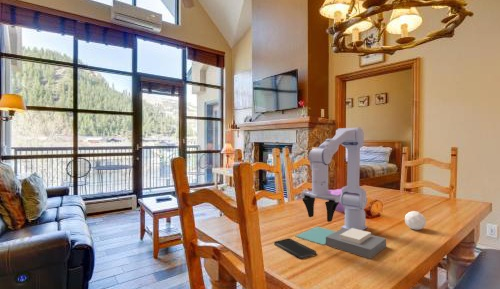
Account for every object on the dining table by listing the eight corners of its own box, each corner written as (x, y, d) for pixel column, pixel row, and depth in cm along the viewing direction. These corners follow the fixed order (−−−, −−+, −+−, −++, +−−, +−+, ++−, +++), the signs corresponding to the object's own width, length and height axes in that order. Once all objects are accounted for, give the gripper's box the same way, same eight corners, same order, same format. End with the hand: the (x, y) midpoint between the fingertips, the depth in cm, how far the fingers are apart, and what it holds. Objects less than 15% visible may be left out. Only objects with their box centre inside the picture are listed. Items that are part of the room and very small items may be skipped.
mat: (316, 227, 115) (316, 226, 115) (343, 234, 106) (343, 233, 106) (295, 236, 104) (295, 235, 104) (323, 245, 95) (323, 244, 95)
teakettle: (325, 205, 154) (325, 185, 153) (354, 205, 153) (354, 185, 153) (334, 213, 137) (334, 190, 136) (366, 213, 136) (366, 190, 136)
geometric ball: (409, 235, 112) (397, 218, 116) (422, 226, 115) (409, 210, 118) (421, 231, 106) (407, 214, 109) (434, 222, 108) (420, 205, 111)
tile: (352, 231, 100) (352, 228, 100) (371, 236, 95) (371, 232, 95) (339, 238, 93) (339, 234, 93) (359, 244, 88) (359, 239, 88)
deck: (343, 235, 105) (343, 227, 105) (386, 246, 93) (386, 238, 93) (325, 244, 95) (325, 236, 95) (370, 259, 84) (370, 249, 84)
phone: (300, 257, 84) (272, 242, 96) (300, 260, 84) (273, 245, 96) (318, 251, 88) (289, 237, 100) (318, 255, 88) (289, 240, 100)
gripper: (296, 180, 96) (297, 216, 96) (332, 184, 86) (333, 225, 86) (307, 178, 101) (307, 213, 101) (343, 182, 90) (343, 221, 91)
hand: (320, 218), depth 94 cm, fingers open, 7 cm apart
